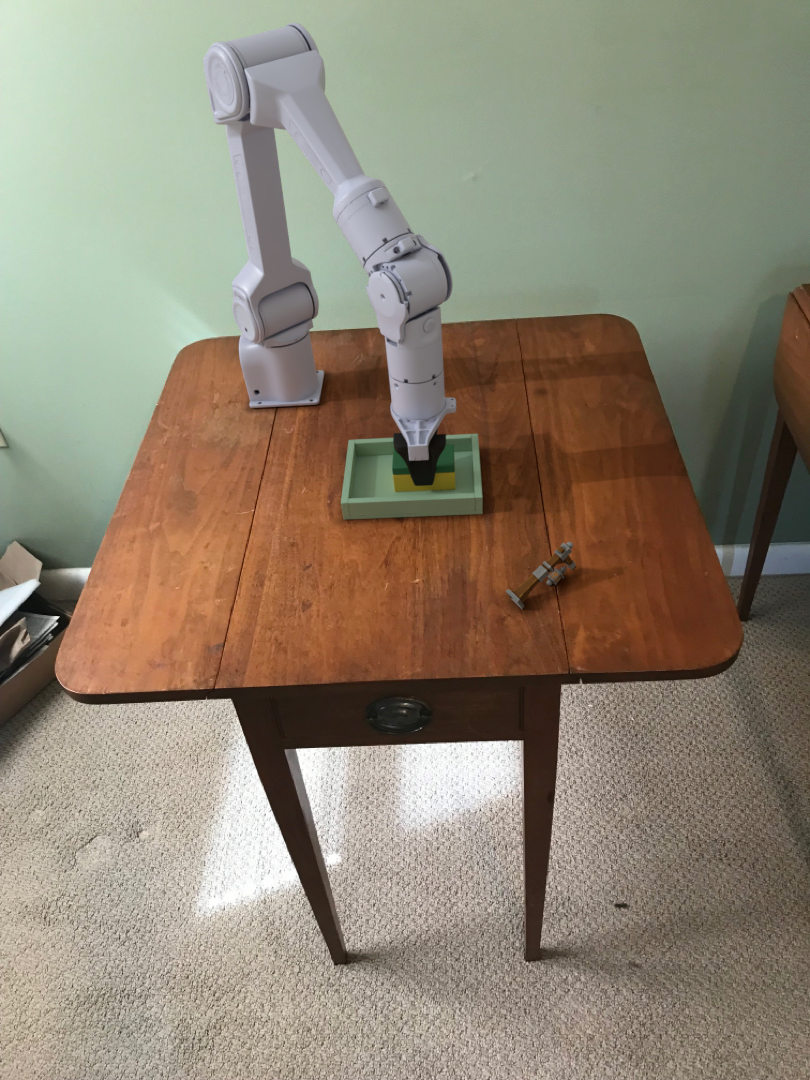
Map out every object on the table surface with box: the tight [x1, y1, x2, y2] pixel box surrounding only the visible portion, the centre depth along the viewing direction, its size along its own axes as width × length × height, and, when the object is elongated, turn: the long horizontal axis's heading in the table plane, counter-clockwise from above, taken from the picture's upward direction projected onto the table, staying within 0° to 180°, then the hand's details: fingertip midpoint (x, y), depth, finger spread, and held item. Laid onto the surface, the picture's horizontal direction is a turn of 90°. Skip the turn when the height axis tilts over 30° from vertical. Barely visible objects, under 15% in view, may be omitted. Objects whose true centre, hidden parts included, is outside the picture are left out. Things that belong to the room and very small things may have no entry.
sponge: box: [392, 444, 456, 492], centre depth 88 cm, size 7×4×4 cm, turn 89°
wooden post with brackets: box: [505, 541, 577, 610], centre depth 76 cm, size 2×8×4 cm, turn 123°
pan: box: [340, 433, 484, 521], centre depth 89 cm, size 16×12×2 cm
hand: (423, 471), depth 89 cm, fingers closed on sponge, 4 cm apart
